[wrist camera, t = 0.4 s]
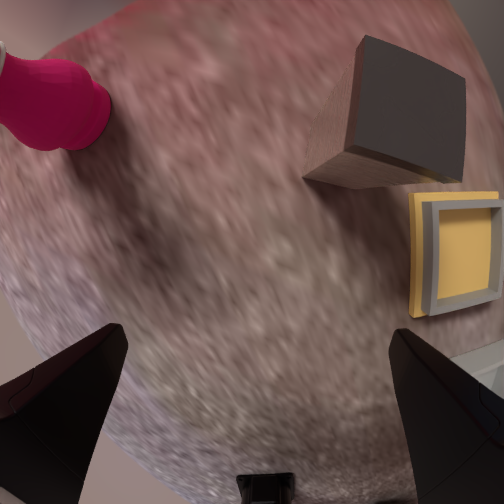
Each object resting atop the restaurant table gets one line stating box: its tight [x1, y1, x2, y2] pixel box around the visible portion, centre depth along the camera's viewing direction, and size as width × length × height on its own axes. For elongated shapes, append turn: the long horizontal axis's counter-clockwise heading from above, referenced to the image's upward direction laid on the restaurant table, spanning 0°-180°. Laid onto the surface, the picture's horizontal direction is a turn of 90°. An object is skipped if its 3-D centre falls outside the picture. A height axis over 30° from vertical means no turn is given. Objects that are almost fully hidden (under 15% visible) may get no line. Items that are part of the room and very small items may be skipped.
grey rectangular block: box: [302, 35, 466, 189], centre depth 14 cm, size 4×4×13 cm
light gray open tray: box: [449, 339, 504, 399], centre depth 22 cm, size 12×9×4 cm
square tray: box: [408, 192, 504, 318], centre depth 20 cm, size 10×10×3 cm
